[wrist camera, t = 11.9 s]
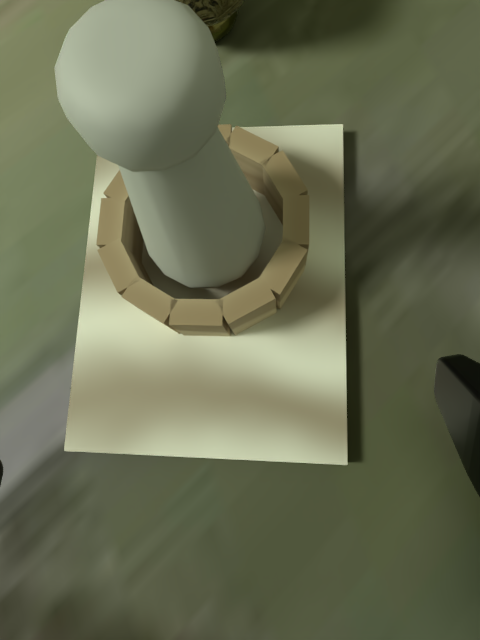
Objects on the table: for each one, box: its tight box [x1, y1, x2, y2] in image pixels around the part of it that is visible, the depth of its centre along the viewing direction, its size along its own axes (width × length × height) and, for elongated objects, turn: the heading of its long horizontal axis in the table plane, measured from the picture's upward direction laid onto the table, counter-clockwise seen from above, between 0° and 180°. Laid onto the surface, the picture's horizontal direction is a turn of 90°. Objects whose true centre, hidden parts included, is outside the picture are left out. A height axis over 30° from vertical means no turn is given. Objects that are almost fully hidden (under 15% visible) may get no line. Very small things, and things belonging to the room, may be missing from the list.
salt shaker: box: [55, 0, 266, 288], centre depth 16 cm, size 6×6×13 cm
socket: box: [64, 124, 348, 465], centre depth 21 cm, size 18×14×4 cm
